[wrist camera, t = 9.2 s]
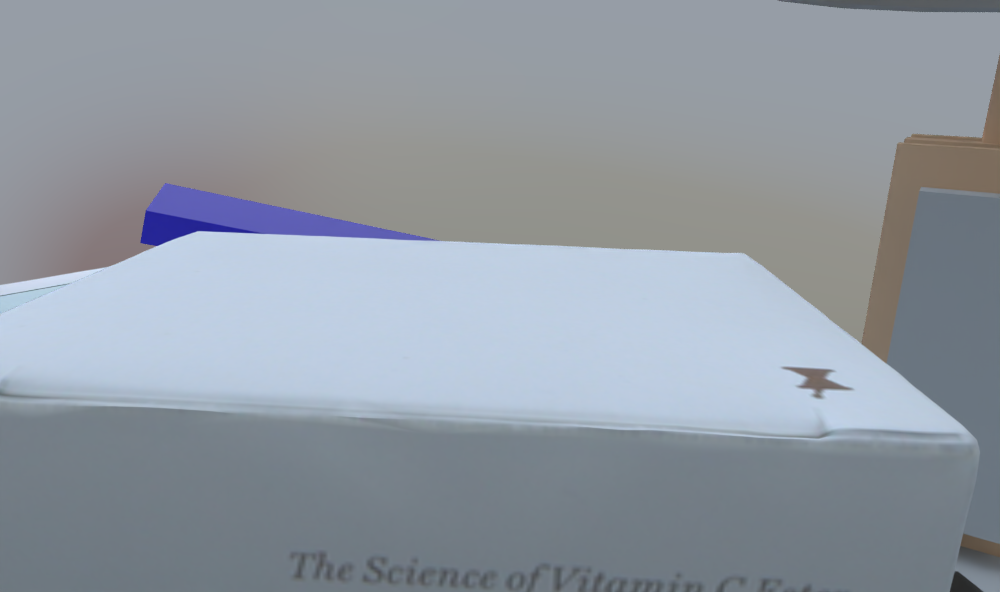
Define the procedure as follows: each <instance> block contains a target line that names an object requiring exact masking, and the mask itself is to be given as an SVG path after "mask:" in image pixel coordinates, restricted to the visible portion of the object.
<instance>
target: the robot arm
mask: <svg viewBox="0 0 1000 592" xmlns="http://www.w3.org/2000/svg"><path fill="white" fill-rule="evenodd" d="M950 592H983V591H982V590H981V589H980V588H978V587H977V586H976V585H975V584H973V583H972V582H971V581H970V580H968V579H967V578H966V577H965V576H963V575H962V574H961V573H960V572H958V571H955V572H954V576H953V580H952V584H951V588H950Z"/></svg>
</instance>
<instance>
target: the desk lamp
mask: <svg viewBox="0 0 1000 592" xmlns="http://www.w3.org/2000/svg"><path fill="white" fill-rule="evenodd" d="M779 1H784V2H794V3H802V4H810V5H819V6H828V7H837V8H850V9H872V10H893V11H915V12H1000V0H779ZM862 345H864V346H865V347H866V348H867V349H869V350H870V351H871V352H872V353H874V354H875V355H876V356H877V357H879V358H880V359H881V360H882V361H884V362H885V363H886V364H888V365H889V366H890V367H892V368H893V369H894V370H896V371H897V372H898V373H899V374H901V375H902V376H903V377H904V378H905V379H906V380H907V381H908V382H910V383H911V384H912V385H913V386H914V387H915V388H917V389H918V390H919V391H921V392H922V393H923V394H924V395H926V396H927V397H928V398H929V399H931V400H932V401H933V402H934V403H936V404H937V405H938V406H939V407H940V408H942V409H943V410H944V411H945V412H947V413H948V414H949V415H950V416H952V417H953V418H954V419H955V420H957V421H958V422H959V423H960V424H962V425H963V426H964V427H965V428H966V429H967V430H968V431H969V432H970V433H971V434H972V435H973V436H974V437H975V438H976V439H977V442H978V446H979V450H980V457H979V464H978V471H977V478H976V483H975V487H974V491H973V495H972V499H971V503H970V507H969V511H968V515H967V518H966V523H965V527H964V532H963V536H962V540H961V545H960V549H959V554H958V558H957V563H956V567H955V571H958V572H960V573H961V574H962V575H963V576H965V577H966V578H967V579H968V580H970V581H971V582H972V583H973V584H975V585H976V586H977V587H978V588H980V589H981V590H982V591H983V592H1000V56H999V61H998V65H997V71H996V75H995V80H994V84H993V89H992V94H991V99H990V104H989V108H988V113H987V118H986V123H985V128H984V132H983V137H982V138H976V137H958V136H942V135H924V134H923V135H922V134H912V136H911V137H907V138H906V139H905V141H904V143H901V142H900V143H898V144H897V149H896V154H895V160H894V166H893V171H892V177H891V182H890V189H889V193H888V200H887V205H886V210H885V216H884V222H883V227H882V233H881V238H880V244H879V249H878V255H877V261H876V266H875V272H874V277H873V283H872V288H871V294H870V299H869V306H868V310H867V316H866V322H865V328H864V333H863V339H862Z"/></svg>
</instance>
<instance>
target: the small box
mask: <svg viewBox="0 0 1000 592" xmlns="http://www.w3.org/2000/svg"><path fill="white" fill-rule="evenodd" d="M979 457H980V450H979V446H978V442H977V439H976V438H975V437H974V436H973V435H972V434H971V433H970V432H969V431H968V430H967V429H966V428H965V427H964V426H963V425H962V424H960V423H959V422H958V421H957V420H955V419H954V418H953V417H952V416H950V415H949V414H948V413H947V412H945V411H944V410H943V409H942V408H940V407H939V406H938V405H937V404H936V403H934V402H933V401H932V400H931V399H929V398H928V397H927V396H926V395H924V394H923V393H922V392H921V391H919V390H918V389H917V388H915V387H914V386H913V385H912V384H911V383H910V382H908V381H907V380H906V379H905V378H904V377H903V376H902V375H901V374H899V373H898V372H897V371H896V370H894V369H893V368H892V367H890V366H889V365H888V364H886V363H885V362H884V361H882V360H881V359H880V358H879V357H877V356H876V355H875V354H874V353H872V352H871V351H870V350H869V349H867V348H866V347H865V346H864V345H862V344H861V343H860V342H858V341H857V340H856V339H855V338H853V337H852V336H851V335H849V334H848V333H847V332H845V331H844V330H843V329H841V328H840V327H839V326H837V325H836V324H835V323H833V322H832V321H831V320H830V319H829V318H827V317H826V316H825V315H824V314H823V313H822V312H820V311H819V310H818V309H816V308H815V307H814V306H812V305H811V304H810V303H808V302H807V301H806V300H805V299H803V298H802V297H801V296H799V295H798V294H797V293H796V292H795V291H793V290H792V289H791V288H790V287H788V286H787V285H786V284H785V283H783V282H782V281H781V280H780V279H778V278H777V277H776V276H774V275H773V274H772V273H770V272H769V271H768V270H766V269H765V268H764V267H763V266H762V265H760V264H759V263H757V262H755V261H754V260H753V259H752V258H750V257H749V256H747V255H745V254H743V253H713V252H684V251H664V250H636V249H611V248H610V249H609V248H591V247H570V246H548V245H547V246H546V245H520V244H494V243H473V242H450V241H421V240H395V239H376V238H352V237H330V236H302V235H278V234H254V233H230V232H205V231H197V232H194V233H191V234H189V235H186V236H182V237H179V238H177V239H174V240H171V241H169V242H166V243H164V244H161V245H159V246H157V247H154V248H152V249H149V250H147V251H145V252H143V253H141V254H138V255H136V256H134V257H131V258H129V259H127V260H124V261H122V262H120V263H117V264H115V265H113V266H110V267H108V268H105V269H103V270H101V271H98V272H96V273H94V274H91V275H89V276H87V277H84V278H82V279H80V280H77V281H75V282H73V283H70V284H68V285H66V286H63V287H61V288H59V289H56V290H54V291H52V292H49V293H47V294H45V295H43V296H40V297H38V298H36V299H33V300H31V301H29V302H26V303H24V304H22V305H19V306H17V307H15V308H12V309H10V310H8V311H5V312H3V313H1V314H0V592H950V588H951V584H952V580H953V576H954V572H955V567H956V563H957V558H958V554H959V549H960V545H961V540H962V536H963V532H964V527H965V523H966V518H967V515H968V511H969V507H970V503H971V499H972V495H973V491H974V487H975V483H976V478H977V471H978V464H979Z"/></svg>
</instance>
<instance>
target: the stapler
mask: <svg viewBox="0 0 1000 592" xmlns="http://www.w3.org/2000/svg"><path fill="white" fill-rule="evenodd" d="M197 231H205V232H230V233H254V234H278V235H302V236H330V237H352V238H376V239H395V240H421V241H439V240H434V239H429V238H425V237H420V236H415V235H410V234H406V233H401V232H396V231H391V230H386V229H382V228H377V227H372V226H367V225H362V224H357V223H353V222H348V221H343V220H338V219H333V218H329V217H324V216H320V215H315V214H310V213H305V212H300V211H295V210H290V209H286V208H281V207H276V206H272V205H267V204H262V203H257V202H253V201H248V200H242V199H238V198H233V197H229V196H224V195H219V194H214V193H210V192H205V191H200V190H195V189H191V188H186V187H181V186H176V185H171V184H166V183H165V185H164V186H163V187H162V189H161V190H160V191H159V193H158V194H157V196H156V197H155V198H154V200H153V201H152V203H151V204H150V205H149V207H148V208H147V210H146V213H145V219H144V225H143V231H142V237H141V243H143V244H149V245H155V246H159V245H161V244H164V243H166V242H169V241H171V240H174V239H177V238H179V237H182V236H186V235H189V234H191V233H194V232H197Z"/></svg>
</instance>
